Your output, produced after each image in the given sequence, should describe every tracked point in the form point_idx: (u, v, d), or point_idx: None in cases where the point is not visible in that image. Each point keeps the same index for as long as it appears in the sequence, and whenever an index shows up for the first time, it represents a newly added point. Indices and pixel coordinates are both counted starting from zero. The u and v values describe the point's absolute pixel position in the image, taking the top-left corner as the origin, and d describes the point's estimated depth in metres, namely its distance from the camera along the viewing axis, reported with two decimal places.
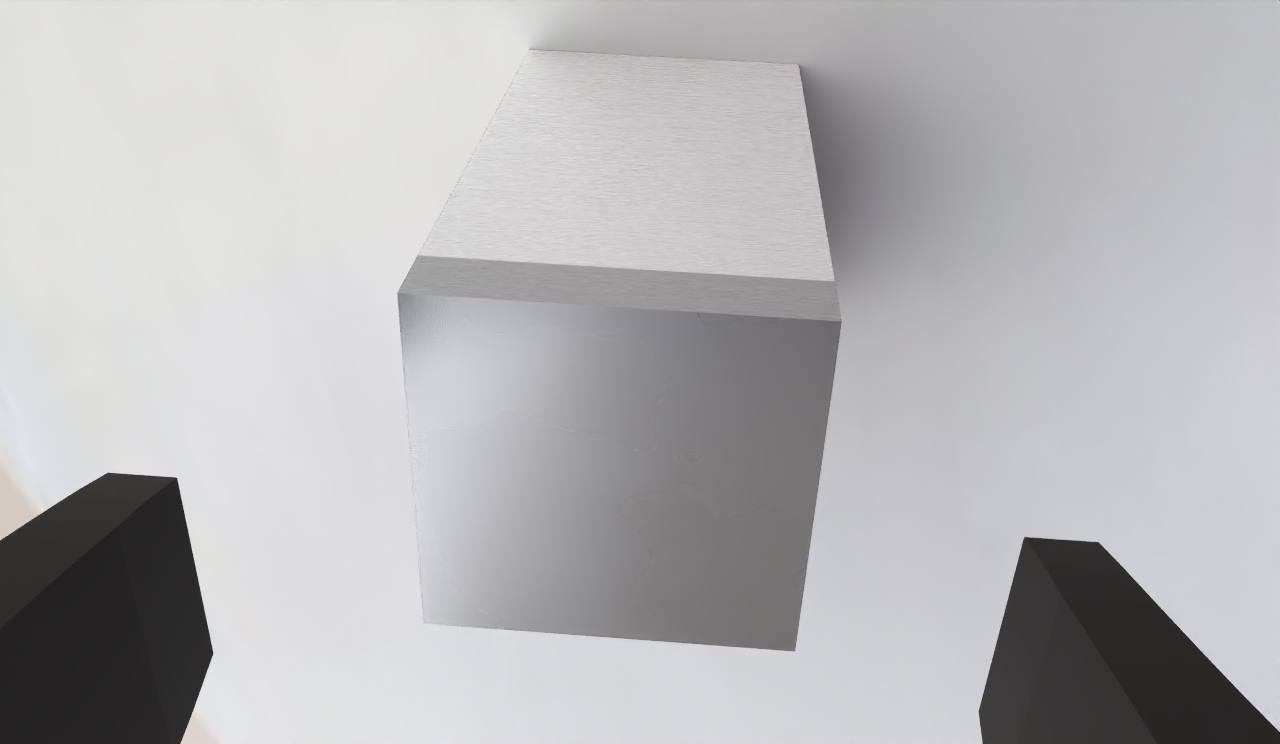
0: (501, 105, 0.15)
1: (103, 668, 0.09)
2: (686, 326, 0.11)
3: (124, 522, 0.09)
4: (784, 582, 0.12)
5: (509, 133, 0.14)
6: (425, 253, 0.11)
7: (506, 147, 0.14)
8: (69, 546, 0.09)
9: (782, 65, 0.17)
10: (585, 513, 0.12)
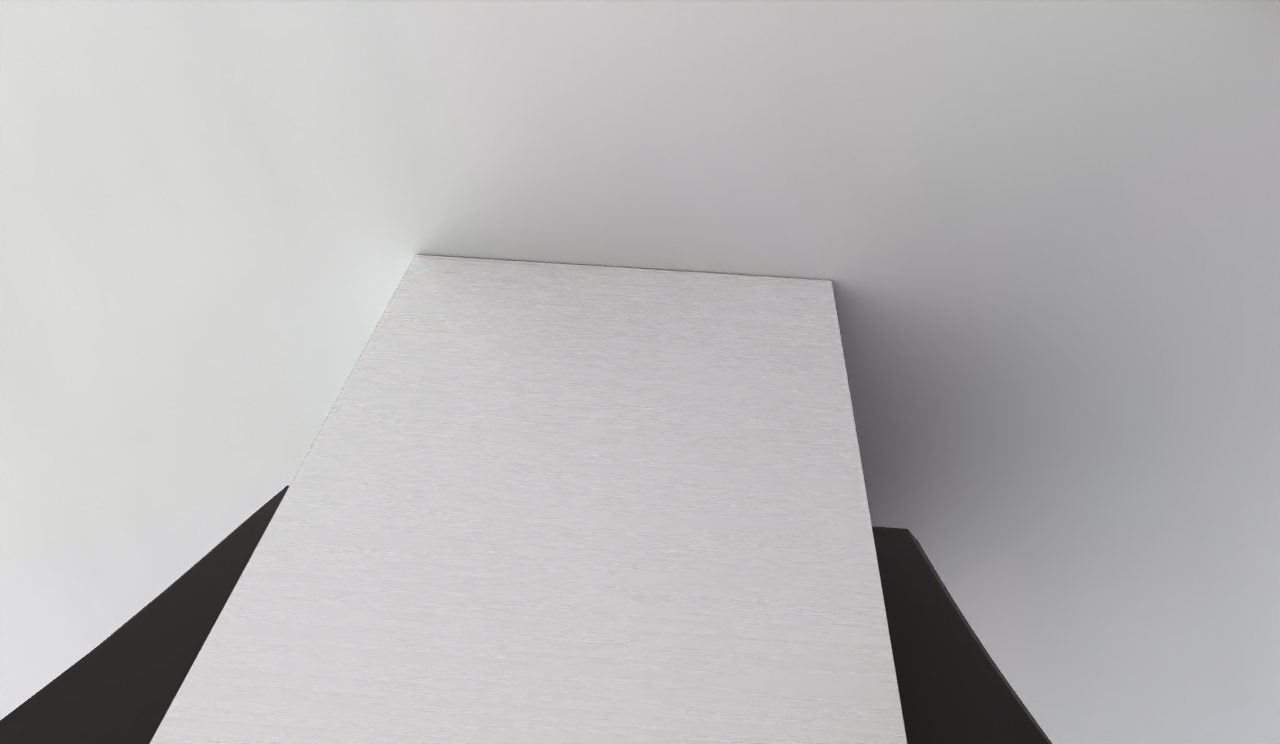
0: (340, 400, 0.09)
1: None
2: None
3: None
4: None
5: (336, 482, 0.08)
6: None
7: (321, 526, 0.08)
8: None
9: (806, 283, 0.11)
10: None
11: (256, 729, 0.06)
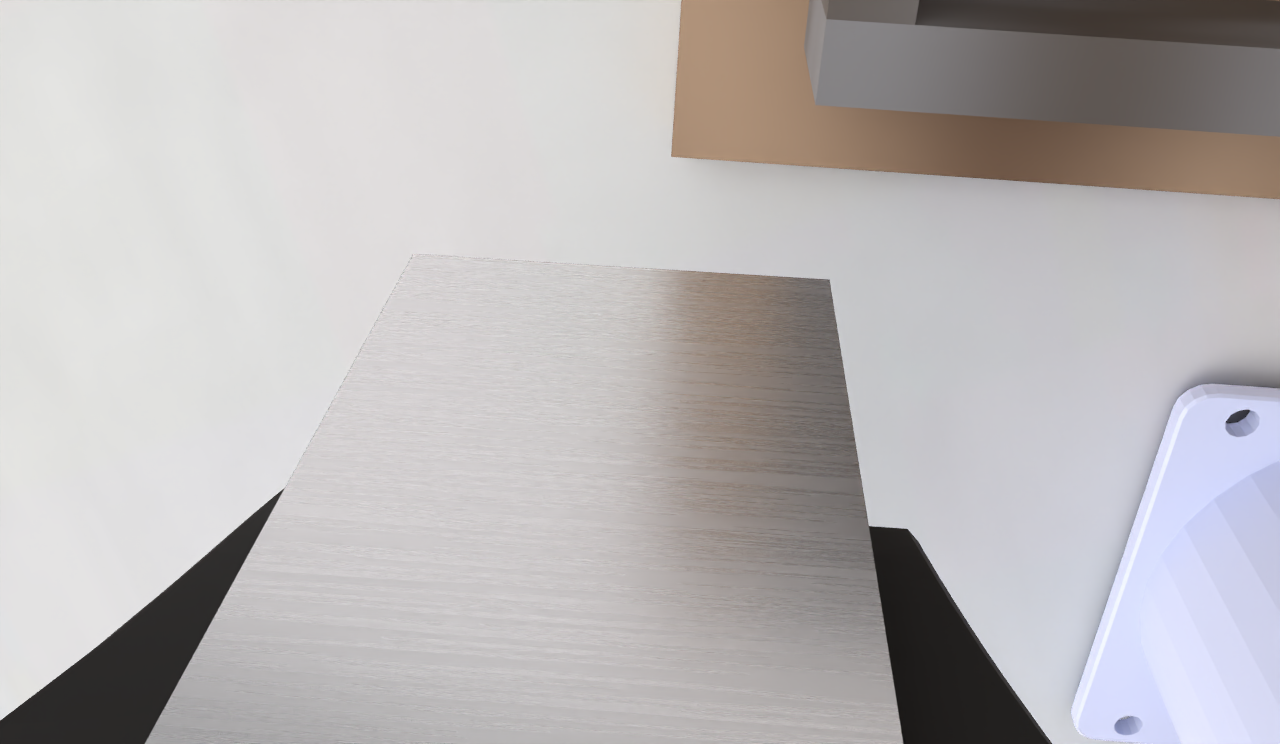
0: (337, 399, 0.09)
1: None
2: None
3: None
4: None
5: (333, 481, 0.08)
6: None
7: (319, 525, 0.08)
8: None
9: (804, 282, 0.11)
10: None
11: (252, 727, 0.06)
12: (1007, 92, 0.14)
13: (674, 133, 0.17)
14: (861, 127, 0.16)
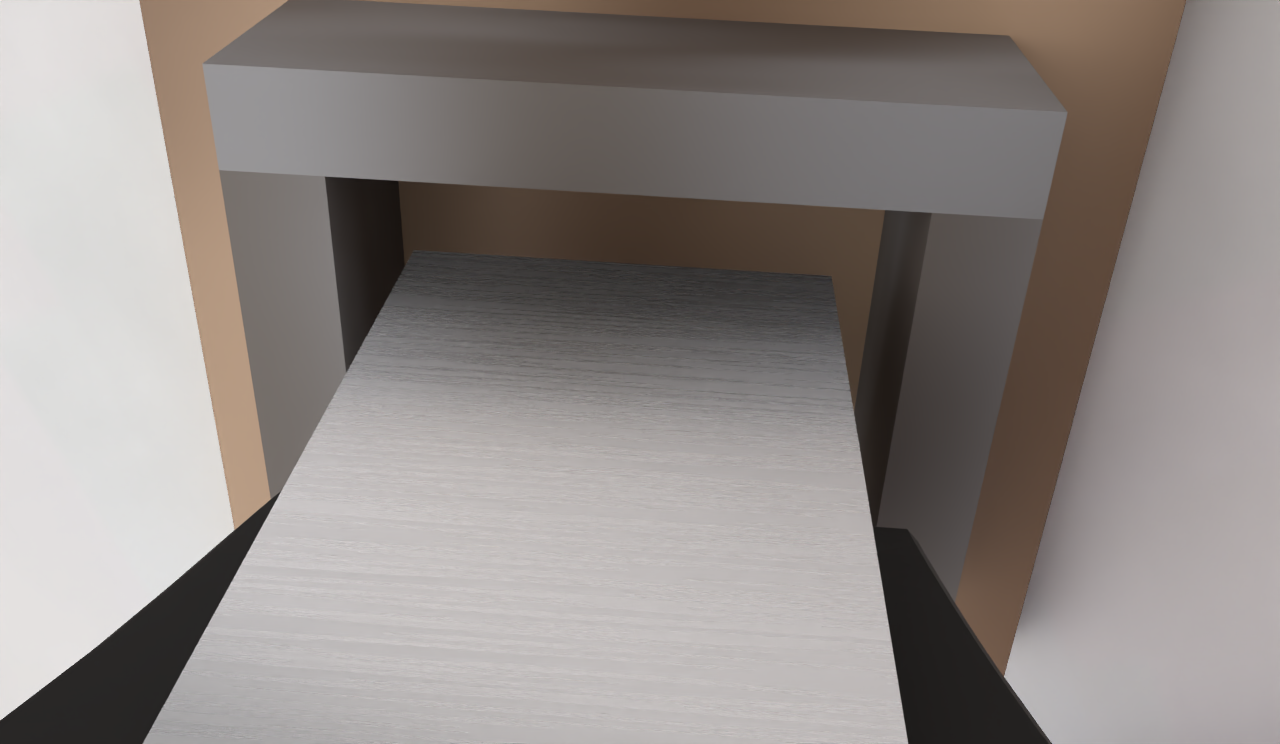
0: (338, 395, 0.09)
1: None
2: None
3: None
4: None
5: (334, 476, 0.08)
6: None
7: (320, 521, 0.08)
8: None
9: (806, 279, 0.11)
10: None
11: (253, 723, 0.06)
12: None
13: None
14: None
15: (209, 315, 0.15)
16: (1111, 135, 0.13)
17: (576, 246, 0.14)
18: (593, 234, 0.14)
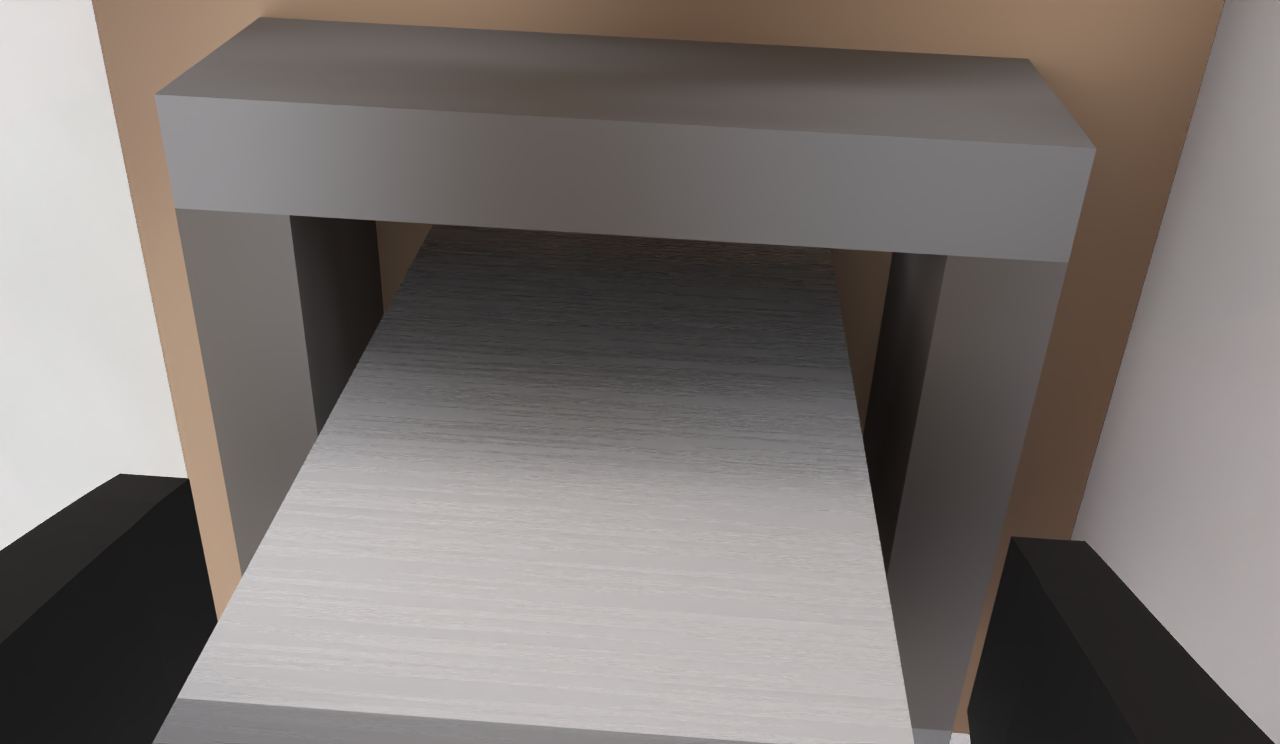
0: (391, 307, 0.10)
1: (116, 669, 0.09)
2: None
3: (138, 523, 0.09)
4: None
5: (393, 370, 0.09)
6: (190, 693, 0.06)
7: (384, 403, 0.09)
8: (83, 547, 0.09)
9: None
10: None
11: (340, 547, 0.08)
12: None
13: None
14: None
15: (176, 350, 0.14)
16: (1136, 164, 0.12)
17: None
18: None
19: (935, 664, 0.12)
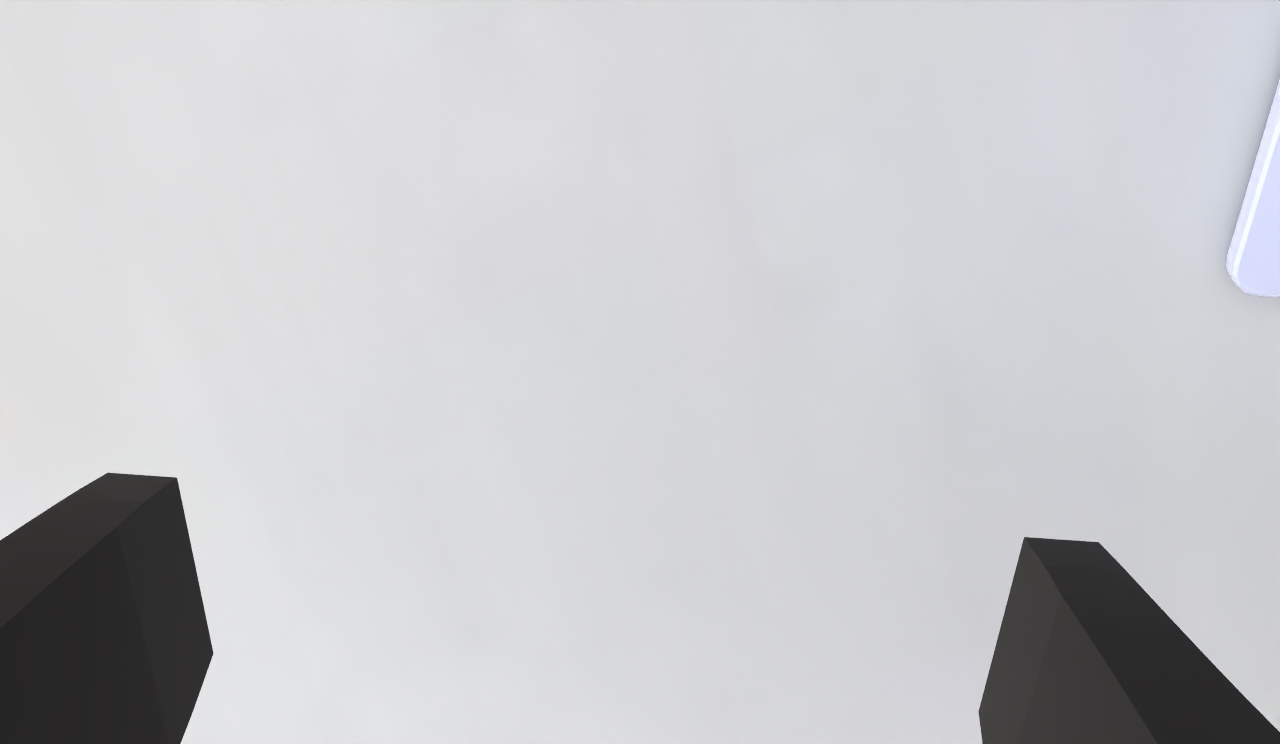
0: None
1: (103, 668, 0.09)
2: None
3: (124, 522, 0.09)
4: None
5: None
6: None
7: None
8: (69, 546, 0.09)
9: None
10: None
11: None
12: None
13: None
14: None
15: None
16: None
17: None
18: None
19: None
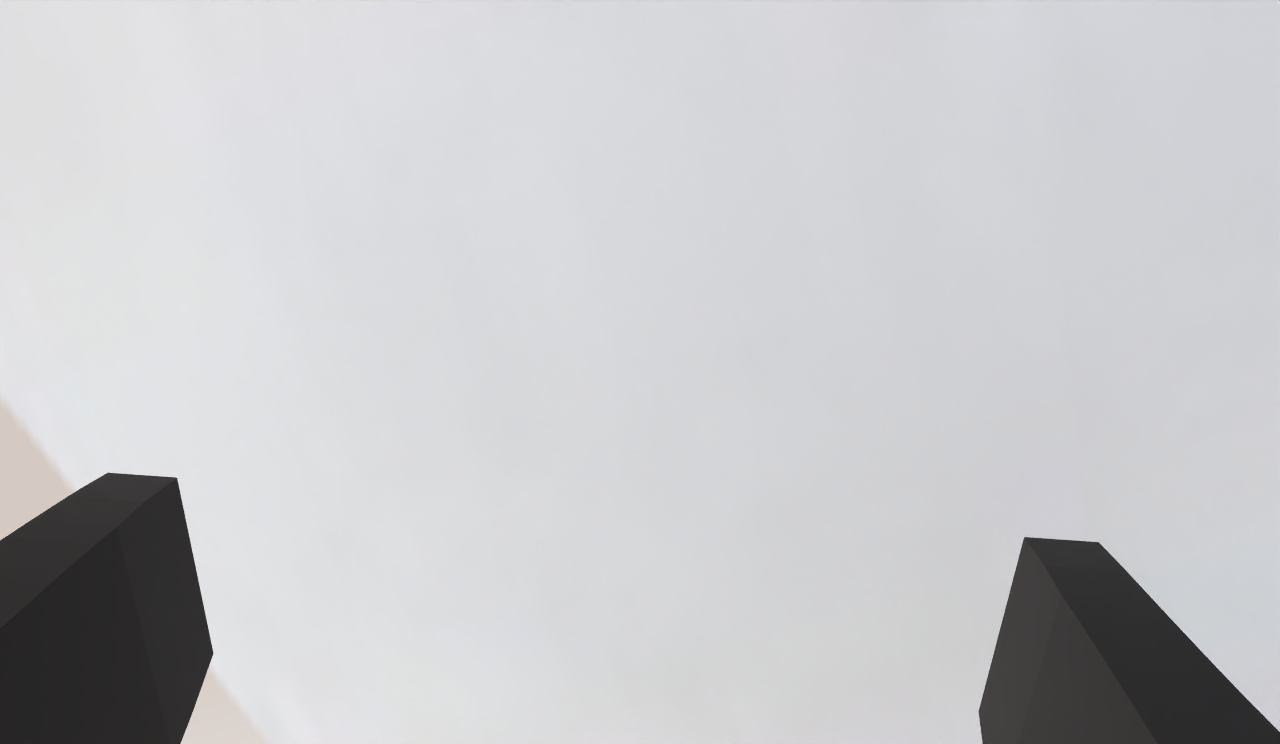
0: None
1: (103, 668, 0.09)
2: None
3: (124, 522, 0.09)
4: None
5: None
6: None
7: None
8: (69, 546, 0.09)
9: None
10: None
11: None
12: None
13: None
14: None
15: None
16: None
17: None
18: None
19: None
